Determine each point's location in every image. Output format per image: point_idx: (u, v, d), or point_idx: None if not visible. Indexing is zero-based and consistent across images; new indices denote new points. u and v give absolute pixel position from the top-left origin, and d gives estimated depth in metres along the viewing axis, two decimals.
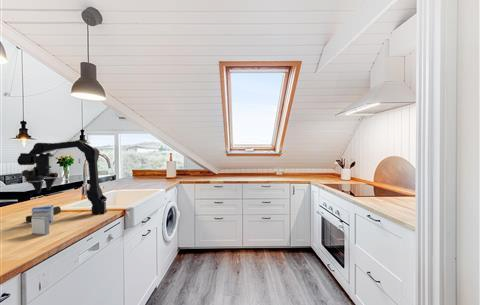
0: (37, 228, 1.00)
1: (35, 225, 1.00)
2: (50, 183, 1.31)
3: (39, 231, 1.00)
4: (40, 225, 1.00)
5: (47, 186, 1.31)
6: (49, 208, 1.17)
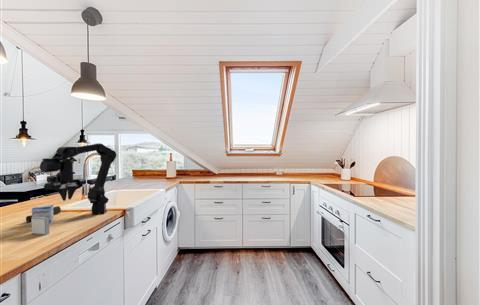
0: (37, 228, 1.00)
1: (35, 225, 1.00)
2: (71, 191, 1.18)
3: (39, 231, 1.00)
4: (40, 225, 1.00)
5: (68, 195, 1.18)
6: (49, 208, 1.17)
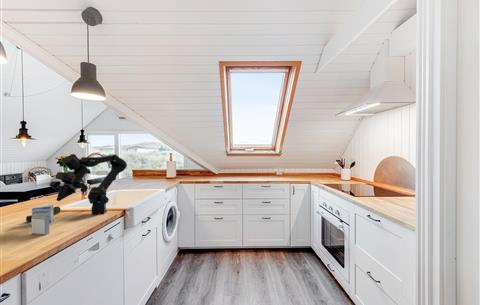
0: (37, 228, 1.00)
1: (35, 225, 1.00)
2: None
3: (39, 231, 1.00)
4: (40, 225, 1.00)
5: None
6: (49, 208, 1.17)
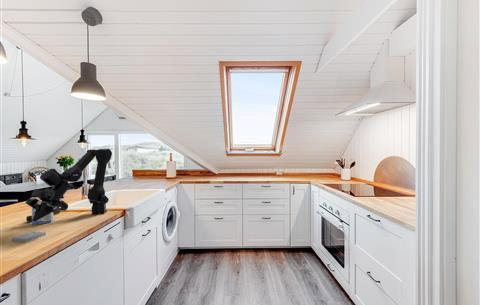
0: None
1: None
2: None
3: None
4: None
5: None
6: None
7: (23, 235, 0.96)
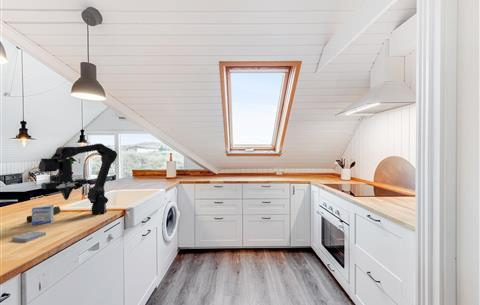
0: None
1: None
2: (68, 191, 1.17)
3: None
4: None
5: None
6: (49, 208, 1.17)
7: (23, 235, 0.96)
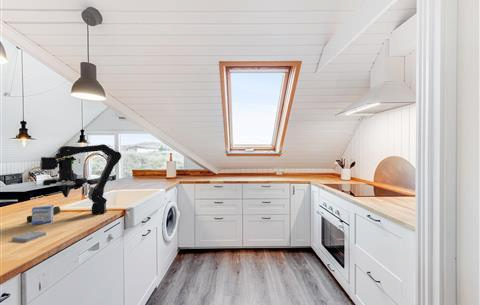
0: None
1: None
2: None
3: None
4: None
5: None
6: (49, 208, 1.17)
7: (23, 235, 0.96)
